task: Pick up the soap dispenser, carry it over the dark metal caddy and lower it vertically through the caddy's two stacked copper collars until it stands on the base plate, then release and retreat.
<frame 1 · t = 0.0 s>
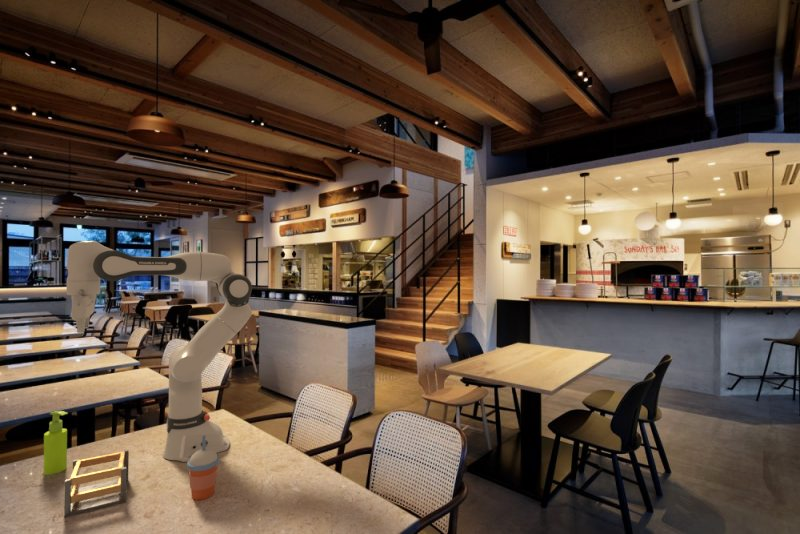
hand: (83, 330, 133), 48 cm above the table, fingers open, 8 cm apart
cup with straw: (203, 495, 122), on the table
soap dispenser: (56, 471, 134), on the table
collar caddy: (98, 497, 119), on the table
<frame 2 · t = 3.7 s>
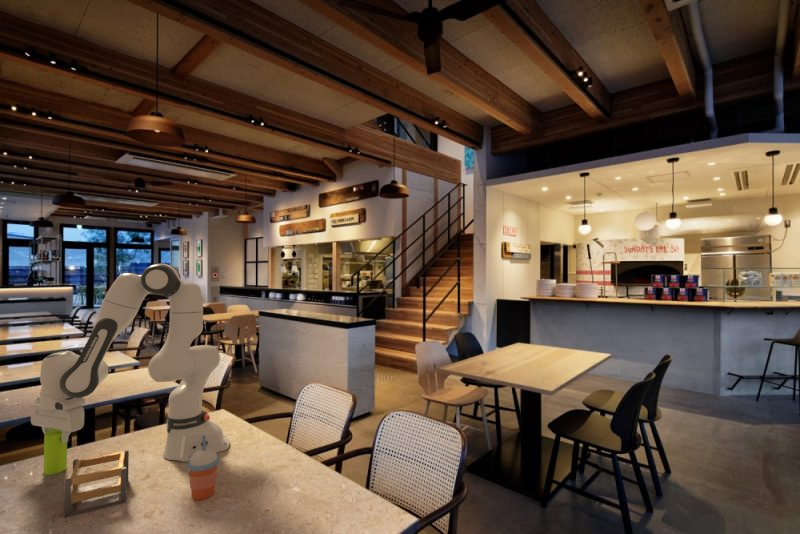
hand: (56, 440, 134), 10 cm above the table, fingers closed on soap dispenser, 6 cm apart
soap dispenser: (56, 470, 134), on the table, touching gripper
everything else where it was.
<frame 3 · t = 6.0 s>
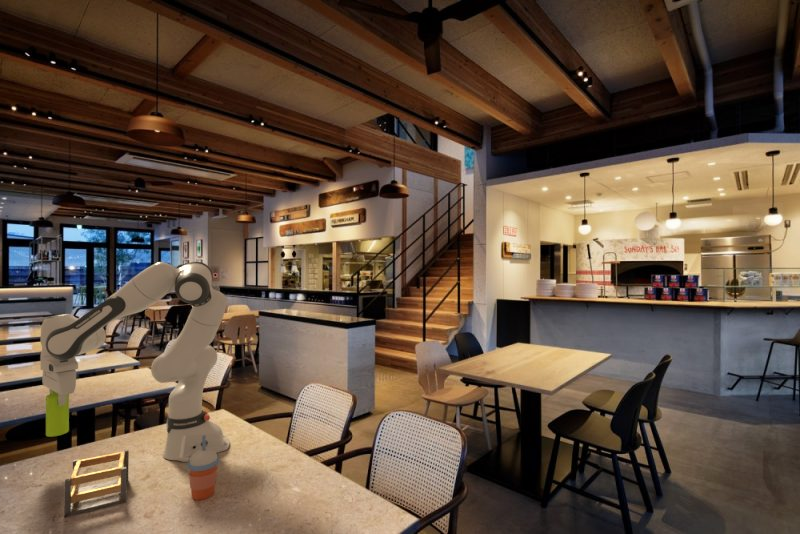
hand: (58, 402, 134), 23 cm above the table, fingers closed on soap dispenser, 6 cm apart
soap dispenser: (58, 433, 134), point 13 cm above the table, touching gripper
everything else where it was.
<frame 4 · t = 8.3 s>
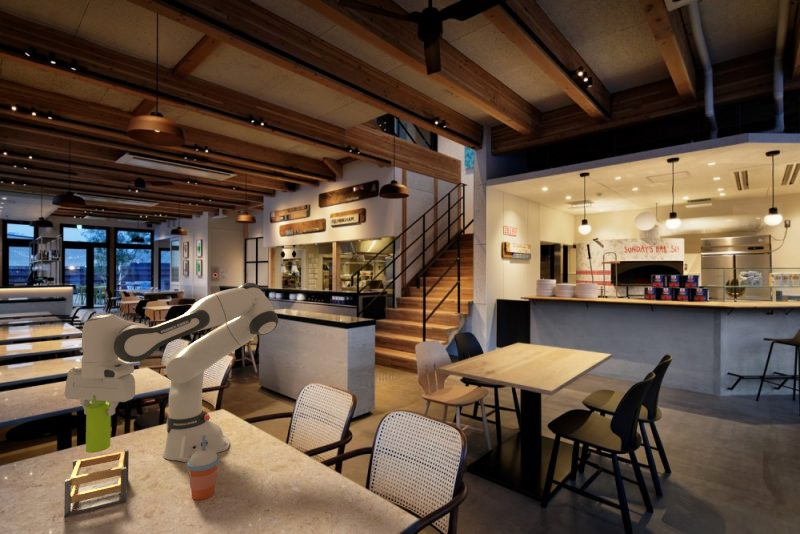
hand: (99, 414, 119), 25 cm above the table, fingers closed on soap dispenser, 6 cm apart
soap dispenser: (99, 448, 119), point 15 cm above the table, touching gripper
everything else where it was.
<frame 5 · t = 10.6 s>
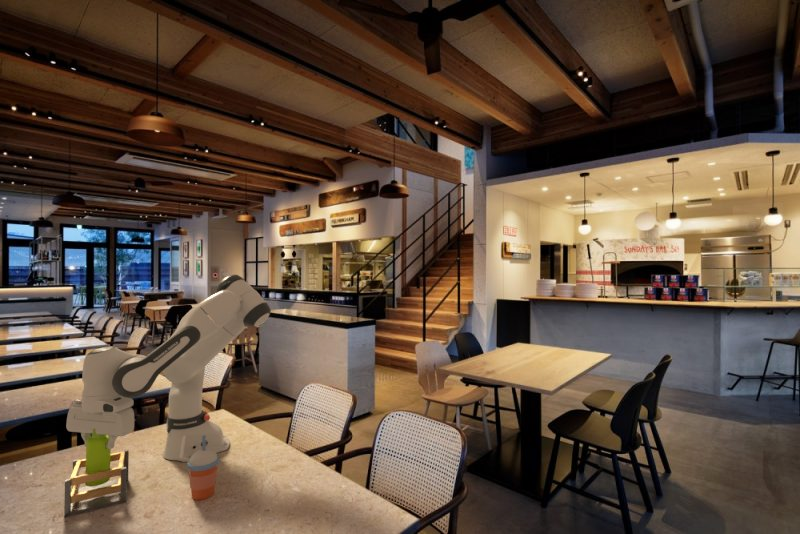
hand: (99, 447, 119), 15 cm above the table, fingers closed on soap dispenser, 6 cm apart
soap dispenser: (99, 481, 119), point 5 cm above the table, touching gripper
everything else where it was.
when the fingers open (13 cm above the table, at t = 12.6 s): soap dispenser drops 1 cm, resting on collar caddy.
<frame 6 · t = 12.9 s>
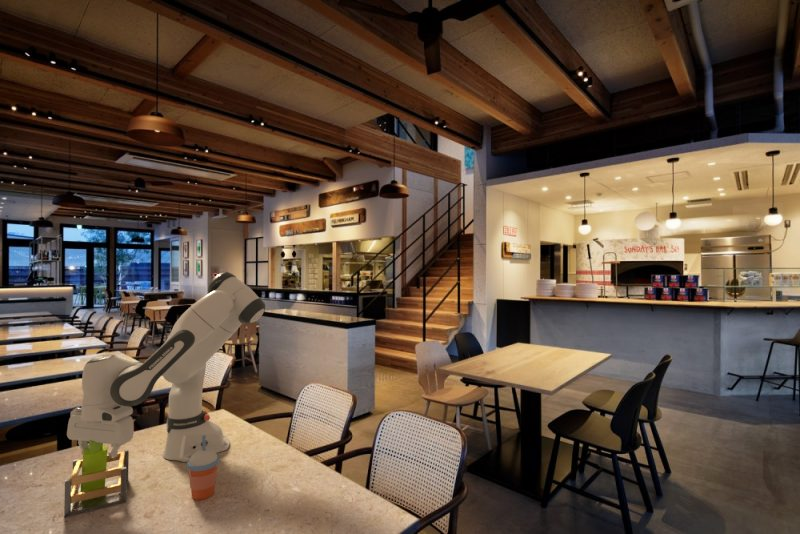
hand: (99, 455, 119), 13 cm above the table, fingers open, 8 cm apart
soap dispenser: (94, 492, 120), point 1 cm above the table, touching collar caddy, gripper
everything else where it was.
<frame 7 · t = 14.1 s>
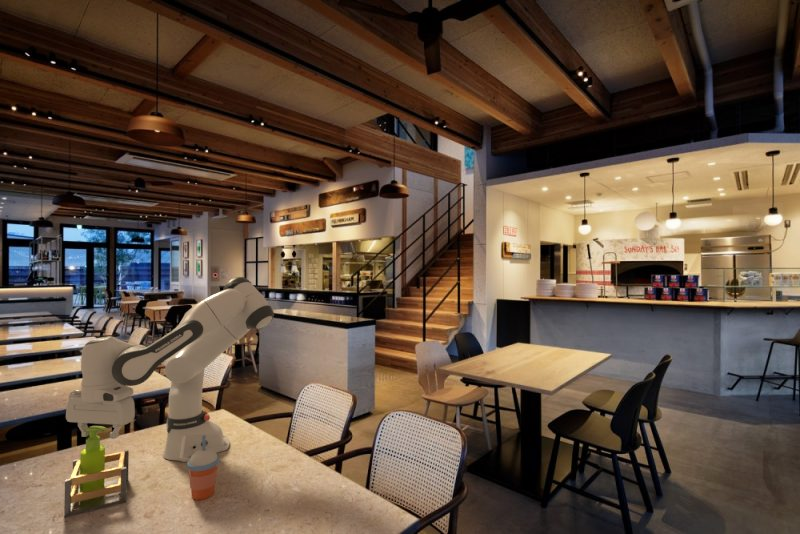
hand: (100, 436, 119), 18 cm above the table, fingers open, 8 cm apart
soap dispenser: (93, 493, 120), point 1 cm above the table, touching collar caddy
everything else where it was.
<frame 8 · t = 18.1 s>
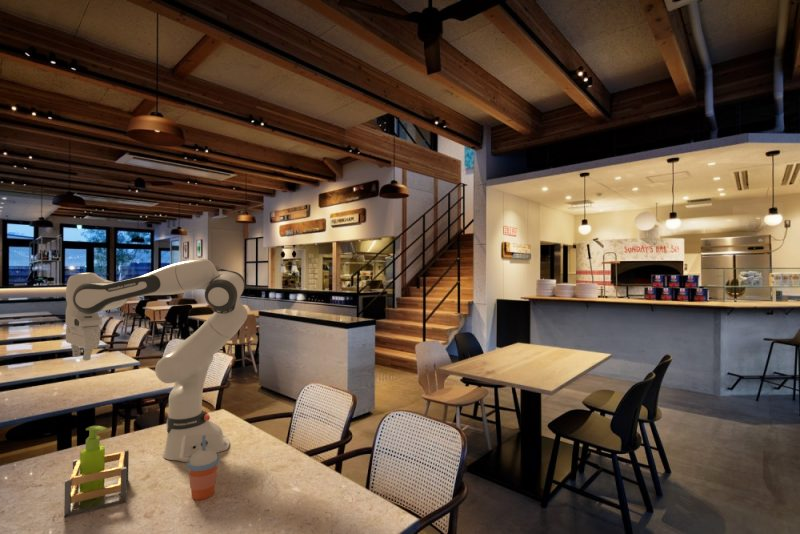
hand: (81, 358, 139), 37 cm above the table, fingers open, 8 cm apart
nothing on the table moved.
at the end: soap dispenser 2.1 cm off-centre on the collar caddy, point 0.8 cm above the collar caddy's base; soap dispenser tilted 0°; the gripper is holding nothing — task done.
